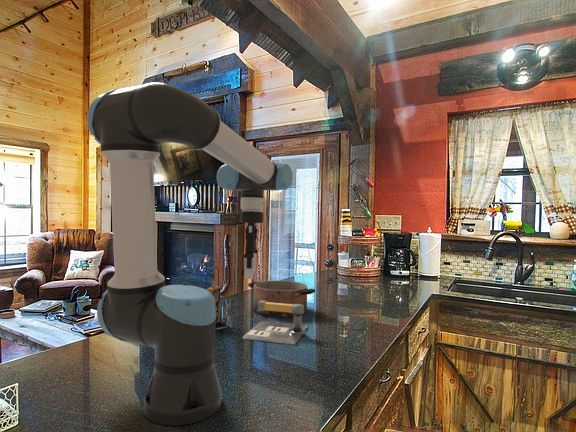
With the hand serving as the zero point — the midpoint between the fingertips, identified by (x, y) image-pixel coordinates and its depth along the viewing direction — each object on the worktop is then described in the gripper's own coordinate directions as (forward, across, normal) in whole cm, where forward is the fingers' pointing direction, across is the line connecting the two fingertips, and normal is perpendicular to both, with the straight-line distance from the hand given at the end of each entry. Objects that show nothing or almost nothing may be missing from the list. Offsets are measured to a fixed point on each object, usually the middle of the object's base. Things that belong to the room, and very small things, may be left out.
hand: (250, 275), depth 119 cm
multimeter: (+20, +10, +10) cm, 24 cm away
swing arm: (+12, +2, -11) cm, 16 cm away
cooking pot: (+20, +32, -11) cm, 39 cm away
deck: (+19, +2, -9) cm, 22 cm away
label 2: (+19, +2, -9) cm, 22 cm away
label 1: (+19, -3, -4) cm, 20 cm away
